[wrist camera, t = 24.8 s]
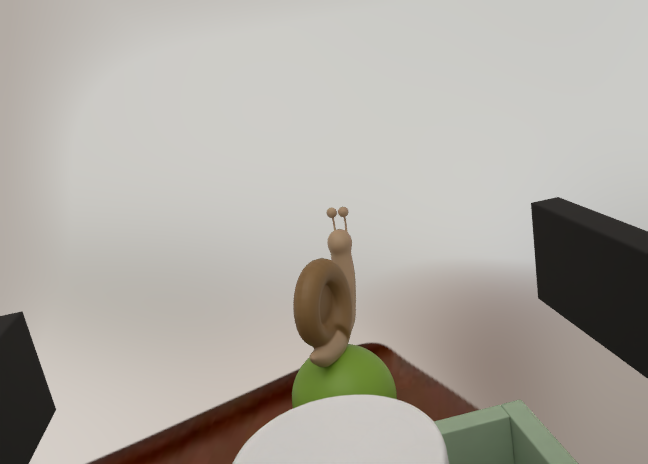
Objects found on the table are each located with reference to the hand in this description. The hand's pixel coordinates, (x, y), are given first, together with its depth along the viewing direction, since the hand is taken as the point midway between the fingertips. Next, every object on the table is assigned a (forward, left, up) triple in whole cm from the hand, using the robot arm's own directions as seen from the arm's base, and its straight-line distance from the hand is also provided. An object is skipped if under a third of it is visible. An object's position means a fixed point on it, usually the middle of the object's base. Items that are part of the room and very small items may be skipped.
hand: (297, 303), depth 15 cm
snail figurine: (+2, +14, -14) cm, 20 cm away
